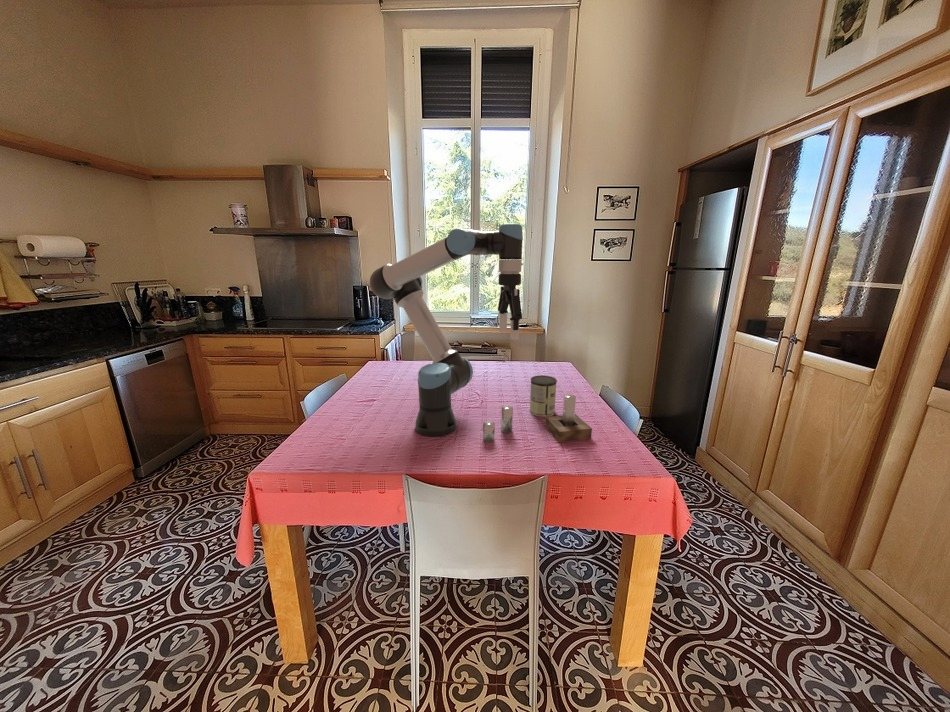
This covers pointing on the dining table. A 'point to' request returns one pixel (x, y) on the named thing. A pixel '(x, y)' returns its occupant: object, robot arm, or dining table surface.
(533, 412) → the coffee can
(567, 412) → the long pin
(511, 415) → the medium pin
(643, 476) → the dining table surface
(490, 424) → the short pin
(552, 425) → the hole block
